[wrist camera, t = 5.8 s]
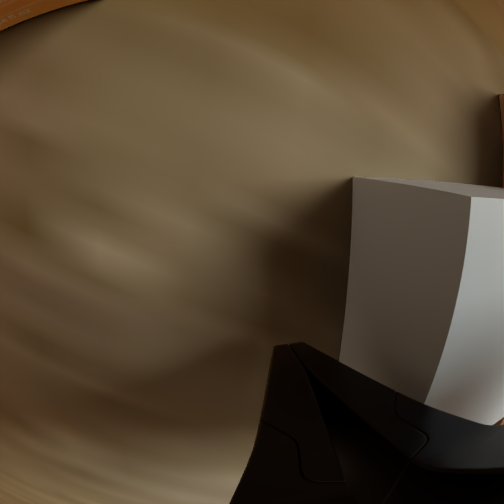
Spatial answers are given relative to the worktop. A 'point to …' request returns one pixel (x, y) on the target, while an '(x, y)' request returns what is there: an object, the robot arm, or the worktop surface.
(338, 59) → the worktop surface
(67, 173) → the worktop surface
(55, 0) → the small box
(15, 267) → the worktop surface
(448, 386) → the block
